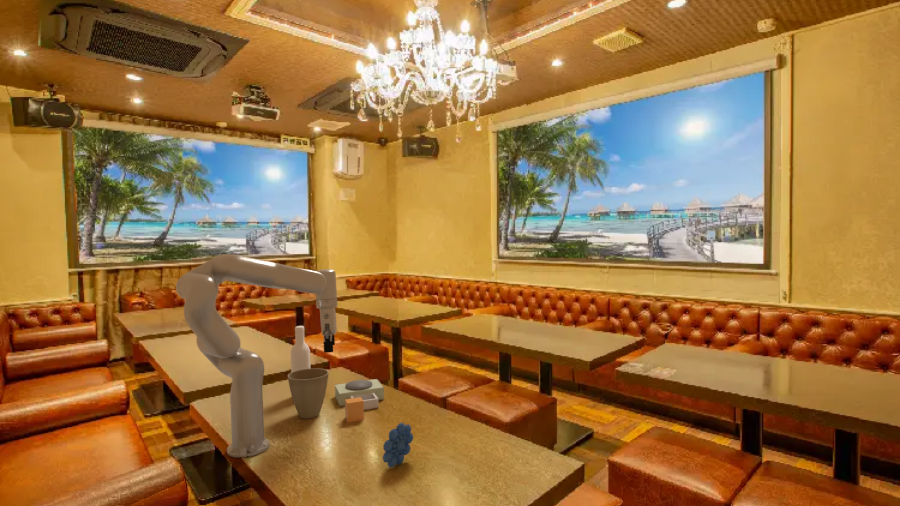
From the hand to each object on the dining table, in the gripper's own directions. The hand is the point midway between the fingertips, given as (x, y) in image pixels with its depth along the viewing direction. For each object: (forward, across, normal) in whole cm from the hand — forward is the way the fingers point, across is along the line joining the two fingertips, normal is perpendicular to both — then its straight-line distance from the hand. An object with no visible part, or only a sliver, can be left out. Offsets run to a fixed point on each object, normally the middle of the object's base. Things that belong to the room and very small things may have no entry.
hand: (329, 348), depth 171 cm
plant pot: (+26, +5, +9) cm, 28 cm away
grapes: (+26, -40, -20) cm, 52 cm away
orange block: (+26, -3, -8) cm, 28 cm away
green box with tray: (+27, +15, -10) cm, 33 cm away
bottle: (+27, +26, +15) cm, 40 cm away
